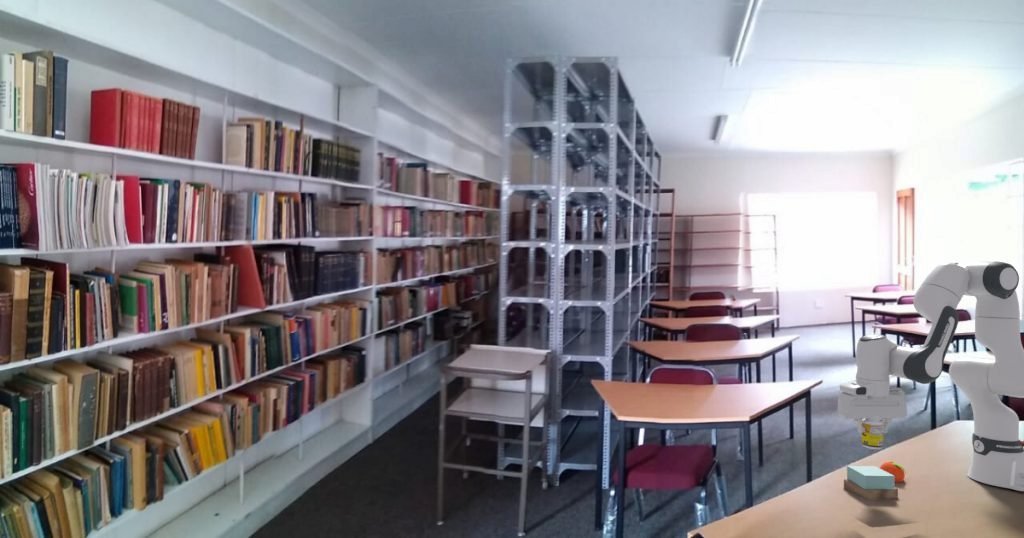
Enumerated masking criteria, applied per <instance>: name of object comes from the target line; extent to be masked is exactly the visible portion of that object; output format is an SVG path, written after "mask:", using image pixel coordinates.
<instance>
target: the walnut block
mask: <svg viewBox="0 0 1024 538" xmlns="http://www.w3.org/2000/svg"><path fill="white" fill-rule="evenodd" d="M843 489H845V490H848V491H850V492H852V493H854V494H856V495H859V496H861V497H862V498H865V499H867V500H870V501H876V500H886V499H897V498H899V488H898V487H895V489H864V488H862V487H860V486H859V485H857V484H855V483H854V482H852V481H850V480H849V479H847V478H846V479H845V478H844V479H843Z"/></svg>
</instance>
